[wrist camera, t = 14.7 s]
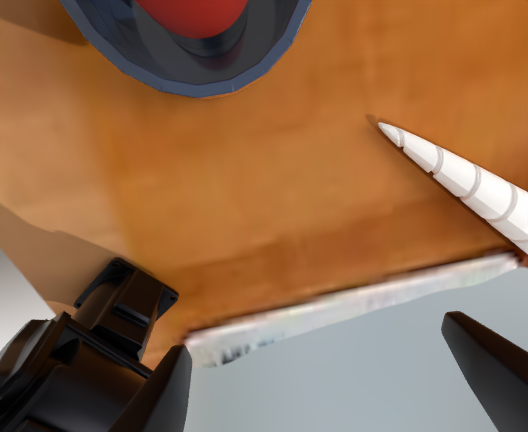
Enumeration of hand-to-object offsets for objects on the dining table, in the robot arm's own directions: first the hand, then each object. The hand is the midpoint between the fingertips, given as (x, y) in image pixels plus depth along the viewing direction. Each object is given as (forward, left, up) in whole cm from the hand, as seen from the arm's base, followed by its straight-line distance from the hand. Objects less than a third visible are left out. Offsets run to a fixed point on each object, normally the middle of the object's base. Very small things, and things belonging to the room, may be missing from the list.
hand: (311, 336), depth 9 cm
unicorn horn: (+13, -14, -13) cm, 23 cm away
